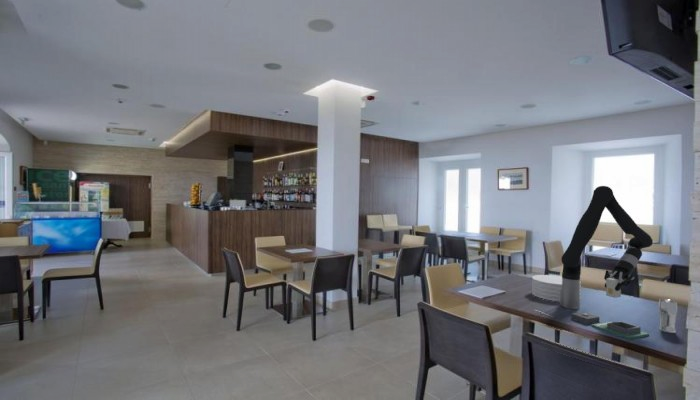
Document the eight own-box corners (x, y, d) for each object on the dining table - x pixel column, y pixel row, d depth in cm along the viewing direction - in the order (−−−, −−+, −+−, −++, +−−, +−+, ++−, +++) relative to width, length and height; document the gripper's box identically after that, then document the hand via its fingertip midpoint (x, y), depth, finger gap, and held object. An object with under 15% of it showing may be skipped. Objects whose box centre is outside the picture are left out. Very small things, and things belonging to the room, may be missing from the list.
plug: (605, 295, 190) (605, 278, 190) (611, 294, 192) (612, 277, 192) (614, 297, 186) (614, 280, 186) (620, 297, 188) (621, 279, 188)
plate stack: (590, 303, 224) (590, 285, 224) (545, 302, 225) (545, 284, 225) (564, 291, 252) (564, 275, 252) (524, 290, 253) (524, 274, 253)
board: (591, 326, 183) (591, 319, 183) (610, 323, 188) (610, 316, 188) (629, 339, 166) (629, 332, 166) (649, 335, 171) (649, 328, 171)
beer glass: (667, 328, 181) (668, 298, 181) (680, 333, 174) (681, 302, 174) (654, 328, 181) (654, 298, 181) (667, 333, 174) (667, 302, 174)
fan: (571, 319, 194) (571, 312, 194) (582, 317, 197) (583, 310, 197) (587, 324, 186) (587, 317, 186) (599, 322, 189) (599, 315, 189)
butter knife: (536, 309, 210) (532, 309, 210) (579, 325, 185) (574, 325, 184) (536, 310, 210) (532, 310, 210) (579, 326, 185) (574, 326, 184)
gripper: (609, 257, 198) (594, 281, 194) (638, 262, 185) (622, 287, 181) (615, 266, 200) (600, 290, 196) (644, 271, 187) (629, 297, 182)
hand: (611, 288), depth 188 cm, fingers closed on plug, 4 cm apart
